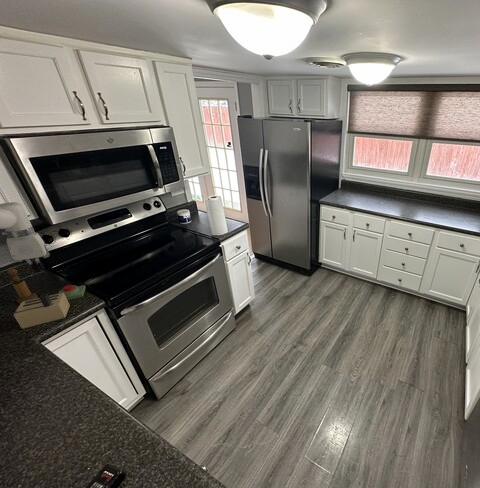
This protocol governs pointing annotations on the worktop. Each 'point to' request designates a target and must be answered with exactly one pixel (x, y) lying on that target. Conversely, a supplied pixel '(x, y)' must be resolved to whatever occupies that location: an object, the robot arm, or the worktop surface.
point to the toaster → (41, 311)
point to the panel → (74, 292)
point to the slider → (45, 300)
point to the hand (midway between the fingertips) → (39, 270)
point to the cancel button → (68, 288)
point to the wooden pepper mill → (21, 287)
